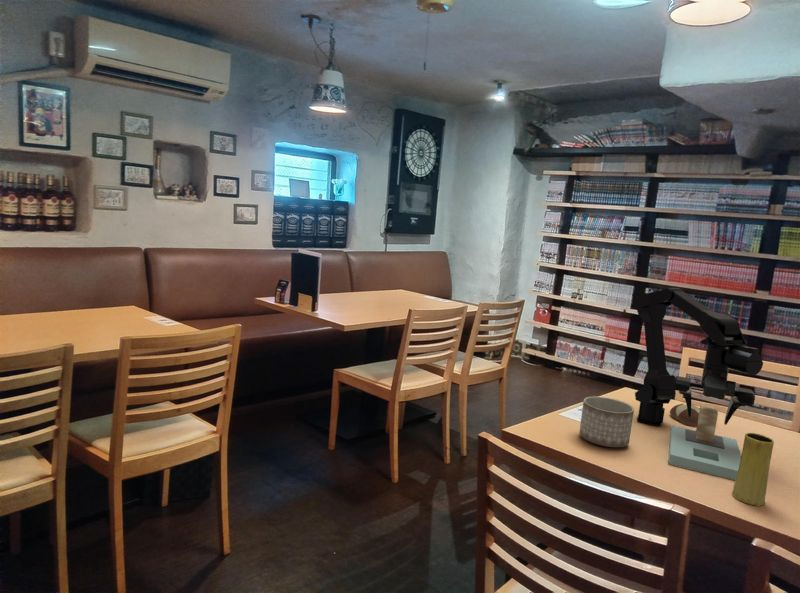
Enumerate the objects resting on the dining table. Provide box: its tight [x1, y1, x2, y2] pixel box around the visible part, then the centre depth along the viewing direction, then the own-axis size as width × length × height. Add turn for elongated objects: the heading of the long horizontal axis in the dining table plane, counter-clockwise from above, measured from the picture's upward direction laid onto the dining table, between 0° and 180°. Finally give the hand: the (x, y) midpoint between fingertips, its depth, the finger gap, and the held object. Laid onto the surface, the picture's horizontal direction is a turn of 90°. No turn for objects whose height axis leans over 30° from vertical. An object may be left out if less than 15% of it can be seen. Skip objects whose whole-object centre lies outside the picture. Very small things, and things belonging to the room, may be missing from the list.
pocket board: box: [668, 424, 742, 481], centre depth 141 cm, size 16×24×3 cm, turn 152°
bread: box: [669, 403, 700, 428], centre depth 167 cm, size 11×11×5 cm
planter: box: [578, 395, 635, 448], centre depth 145 cm, size 13×13×10 cm
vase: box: [731, 432, 775, 507], centre depth 118 cm, size 6×6×14 cm
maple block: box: [695, 405, 719, 442], centre depth 145 cm, size 4×4×8 cm
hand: (707, 420), depth 145 cm, fingers open, 8 cm apart
